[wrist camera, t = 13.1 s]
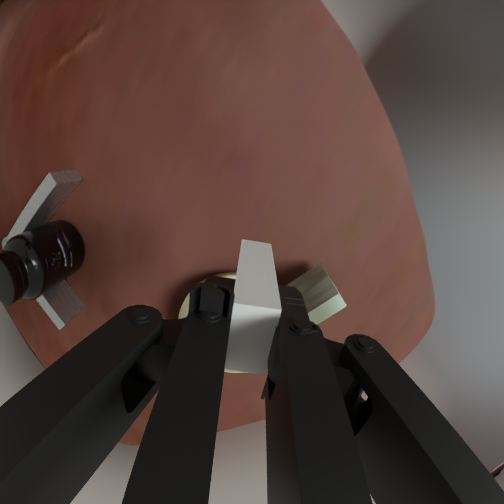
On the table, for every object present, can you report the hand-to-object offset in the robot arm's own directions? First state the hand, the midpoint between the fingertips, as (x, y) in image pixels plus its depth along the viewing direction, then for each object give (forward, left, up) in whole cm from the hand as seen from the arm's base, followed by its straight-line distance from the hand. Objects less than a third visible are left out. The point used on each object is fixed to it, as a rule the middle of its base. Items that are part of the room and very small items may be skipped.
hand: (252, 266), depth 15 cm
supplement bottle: (+7, -22, -14) cm, 27 cm away
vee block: (+6, -25, -14) cm, 29 cm away
